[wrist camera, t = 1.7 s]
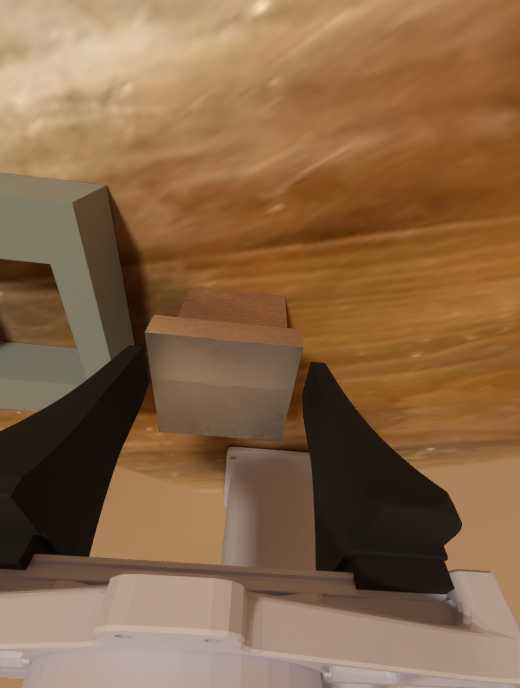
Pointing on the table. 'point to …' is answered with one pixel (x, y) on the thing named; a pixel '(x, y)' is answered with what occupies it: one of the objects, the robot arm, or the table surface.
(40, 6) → the table surface
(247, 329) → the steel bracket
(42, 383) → the well block
